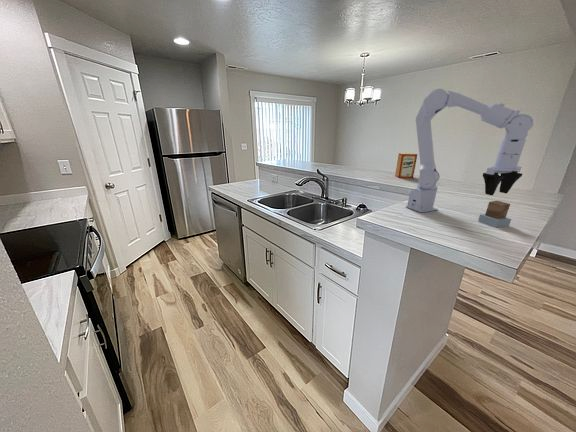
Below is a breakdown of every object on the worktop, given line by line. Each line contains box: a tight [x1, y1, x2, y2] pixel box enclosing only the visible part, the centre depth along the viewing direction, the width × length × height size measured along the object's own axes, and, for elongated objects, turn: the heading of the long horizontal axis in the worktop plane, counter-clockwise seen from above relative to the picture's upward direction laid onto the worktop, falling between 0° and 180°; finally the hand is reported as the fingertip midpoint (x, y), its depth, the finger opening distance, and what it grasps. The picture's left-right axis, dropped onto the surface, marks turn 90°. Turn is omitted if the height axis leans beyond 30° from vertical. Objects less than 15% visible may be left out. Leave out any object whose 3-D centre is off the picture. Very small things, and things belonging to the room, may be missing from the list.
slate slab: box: [478, 213, 512, 229], centre depth 82 cm, size 6×6×3 cm
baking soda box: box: [394, 152, 418, 179], centre depth 159 cm, size 10×6×16 cm
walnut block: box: [484, 200, 511, 219], centre depth 81 cm, size 4×4×5 cm
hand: (496, 193), depth 82 cm, fingers open, 7 cm apart
